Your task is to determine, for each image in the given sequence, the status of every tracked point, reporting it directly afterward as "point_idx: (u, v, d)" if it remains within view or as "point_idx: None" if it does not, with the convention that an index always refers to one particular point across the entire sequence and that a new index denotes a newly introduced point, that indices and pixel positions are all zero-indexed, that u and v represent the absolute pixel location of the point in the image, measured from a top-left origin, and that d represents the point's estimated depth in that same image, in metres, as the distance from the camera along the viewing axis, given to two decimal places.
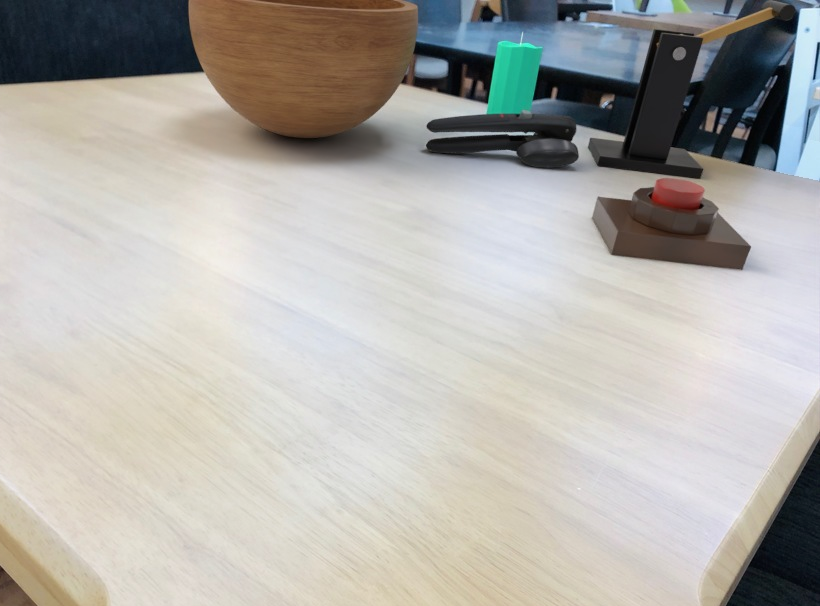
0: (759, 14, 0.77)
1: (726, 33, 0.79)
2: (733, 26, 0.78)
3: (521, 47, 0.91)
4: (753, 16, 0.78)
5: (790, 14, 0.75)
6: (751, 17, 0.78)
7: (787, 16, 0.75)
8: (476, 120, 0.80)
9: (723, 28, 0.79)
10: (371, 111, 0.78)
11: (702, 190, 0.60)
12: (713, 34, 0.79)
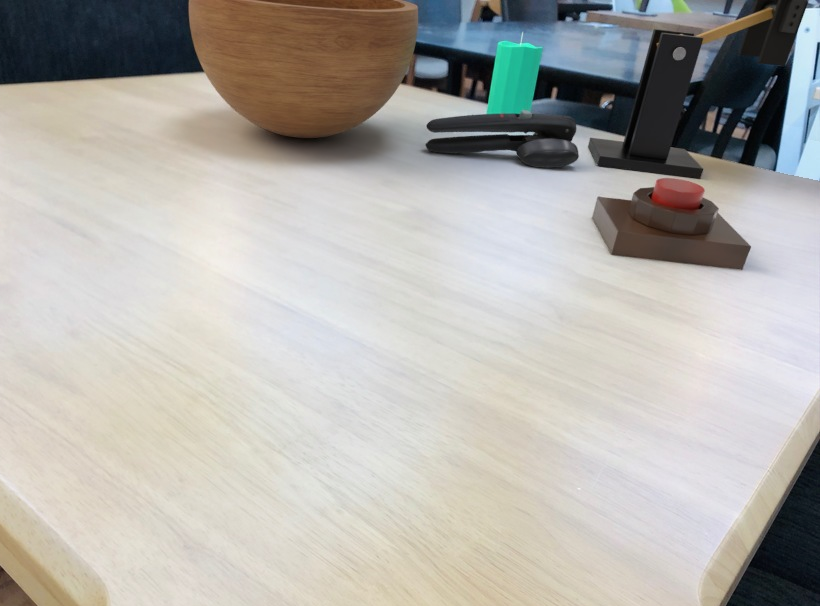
0: (759, 14, 0.77)
1: (726, 33, 0.79)
2: (733, 26, 0.78)
3: (521, 47, 0.91)
4: (753, 16, 0.78)
5: None
6: (751, 17, 0.78)
7: None
8: (476, 120, 0.80)
9: (723, 28, 0.79)
10: (371, 111, 0.78)
11: (702, 190, 0.60)
12: (713, 34, 0.79)
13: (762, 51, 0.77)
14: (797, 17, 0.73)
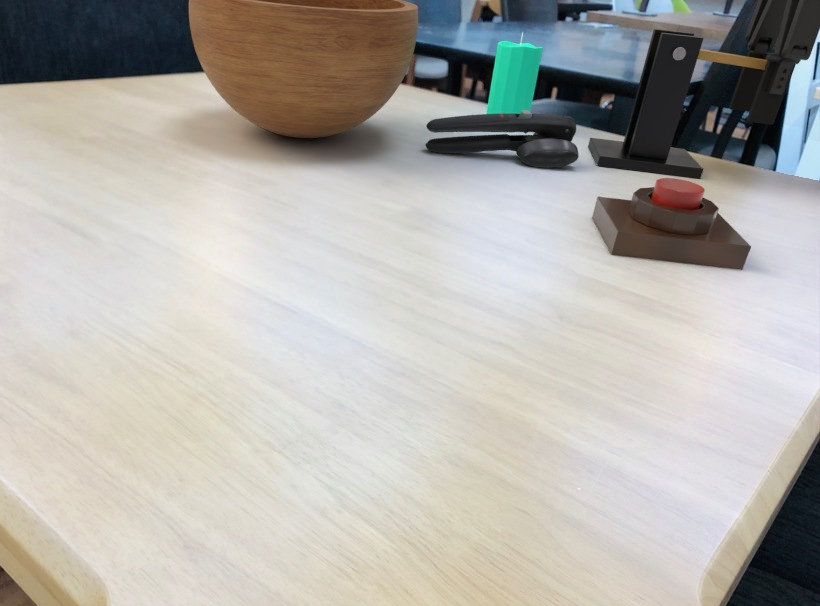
0: (755, 60, 0.80)
1: (722, 61, 0.80)
2: (731, 58, 0.80)
3: (521, 47, 0.91)
4: (750, 58, 0.80)
5: None
6: (748, 58, 0.80)
7: None
8: (476, 120, 0.80)
9: (722, 54, 0.80)
10: (371, 111, 0.78)
11: (702, 190, 0.60)
12: (712, 55, 0.80)
13: (751, 110, 0.80)
14: (784, 80, 0.76)
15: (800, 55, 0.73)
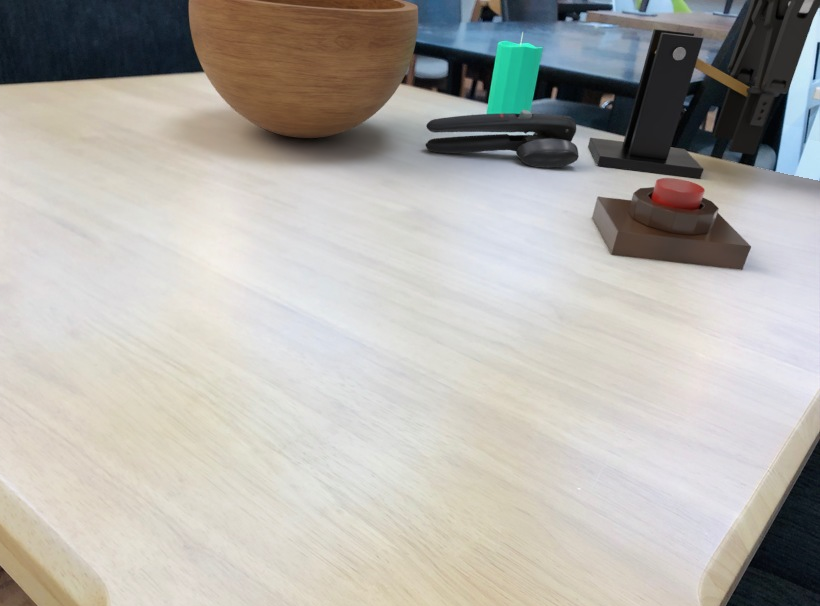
0: (743, 85, 0.81)
1: (713, 76, 0.81)
2: (722, 75, 0.81)
3: (521, 47, 0.91)
4: (739, 82, 0.81)
5: None
6: (737, 81, 0.81)
7: None
8: (476, 120, 0.80)
9: (715, 69, 0.81)
10: (371, 111, 0.78)
11: (702, 190, 0.60)
12: (706, 67, 0.81)
13: (732, 140, 0.82)
14: (764, 112, 0.78)
15: (779, 89, 0.75)
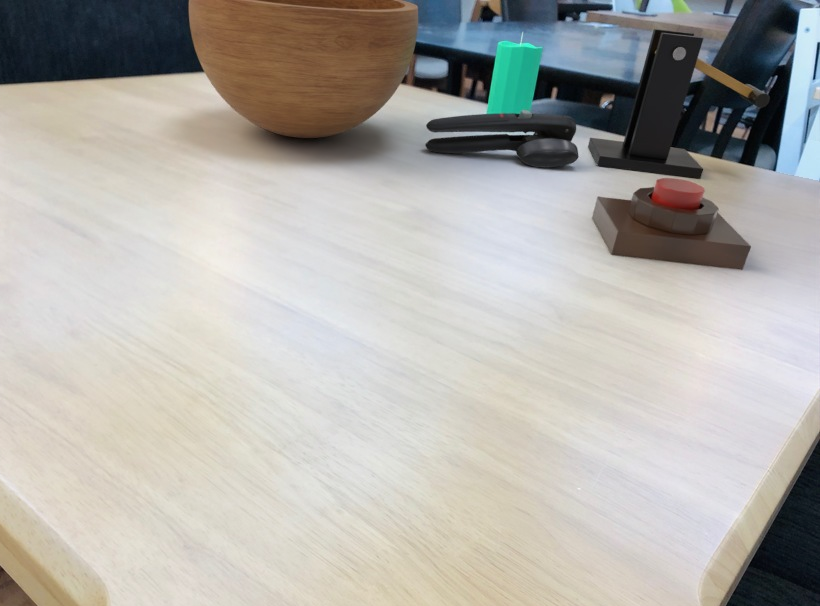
0: (743, 85, 0.81)
1: (713, 76, 0.81)
2: (722, 75, 0.81)
3: (521, 47, 0.91)
4: (738, 82, 0.81)
5: (762, 103, 0.80)
6: (737, 81, 0.81)
7: (759, 103, 0.80)
8: (476, 120, 0.80)
9: (715, 70, 0.81)
10: (371, 111, 0.78)
11: (702, 190, 0.60)
12: (706, 67, 0.81)
13: None
14: None
15: None
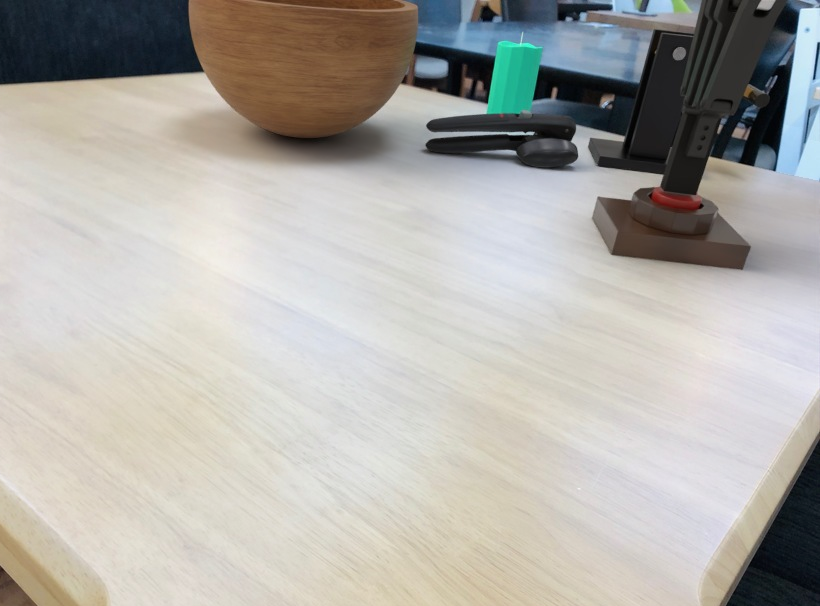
0: None
1: None
2: None
3: (521, 47, 0.91)
4: None
5: (762, 103, 0.80)
6: None
7: (759, 103, 0.80)
8: (476, 120, 0.80)
9: None
10: (371, 111, 0.78)
11: (699, 198, 0.60)
12: None
13: (666, 176, 0.60)
14: (707, 139, 0.57)
15: (723, 111, 0.54)
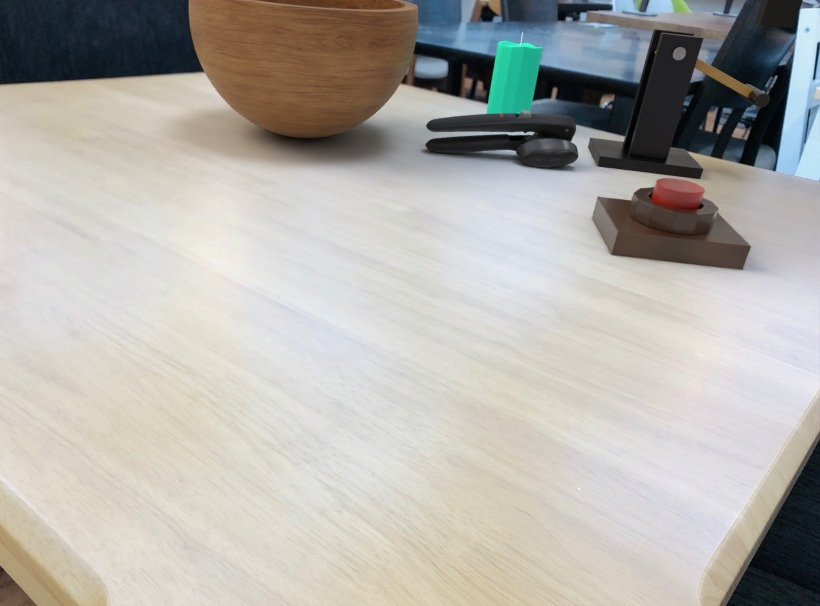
0: (743, 85, 0.81)
1: (713, 76, 0.81)
2: (722, 75, 0.81)
3: (521, 47, 0.91)
4: (738, 82, 0.81)
5: (762, 103, 0.80)
6: (737, 81, 0.81)
7: (759, 103, 0.80)
8: (476, 120, 0.80)
9: (715, 70, 0.81)
10: (371, 111, 0.78)
11: (702, 190, 0.60)
12: (706, 67, 0.81)
13: (763, 9, 0.59)
14: None
15: None
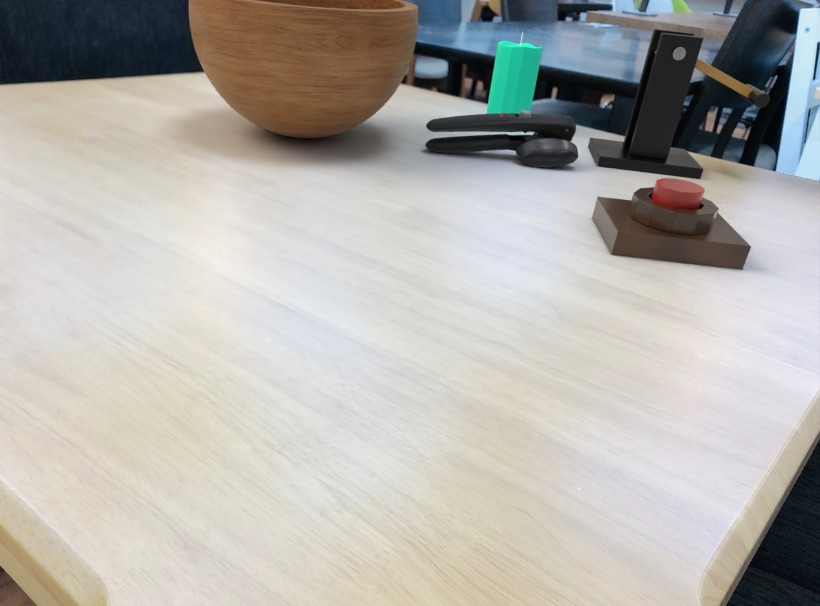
0: (743, 85, 0.81)
1: (713, 76, 0.81)
2: (722, 75, 0.81)
3: (521, 47, 0.91)
4: (738, 82, 0.81)
5: (762, 103, 0.80)
6: (737, 81, 0.81)
7: (759, 103, 0.80)
8: (476, 120, 0.80)
9: (715, 70, 0.81)
10: (371, 111, 0.78)
11: (702, 190, 0.60)
12: (706, 67, 0.81)
13: None
14: None
15: None
